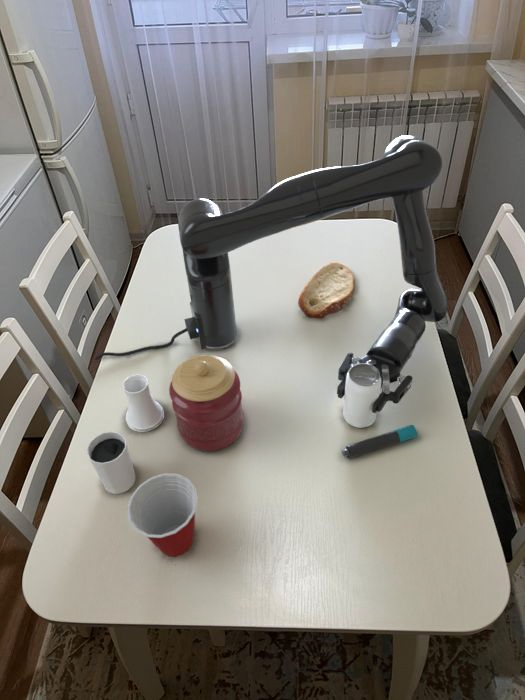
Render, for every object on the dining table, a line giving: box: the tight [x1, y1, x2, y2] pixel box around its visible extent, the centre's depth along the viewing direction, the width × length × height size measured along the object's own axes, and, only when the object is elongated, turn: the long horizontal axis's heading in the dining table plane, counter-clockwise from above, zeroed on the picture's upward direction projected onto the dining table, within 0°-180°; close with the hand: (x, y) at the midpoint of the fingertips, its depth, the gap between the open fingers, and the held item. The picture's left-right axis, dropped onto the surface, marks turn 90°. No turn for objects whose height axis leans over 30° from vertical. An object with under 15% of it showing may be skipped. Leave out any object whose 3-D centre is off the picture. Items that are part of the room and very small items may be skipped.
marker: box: [341, 424, 418, 459], centre depth 101 cm, size 15×2×2 cm
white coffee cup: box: [86, 431, 136, 495], centre depth 95 cm, size 7×7×10 cm
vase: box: [122, 373, 165, 433], centre depth 106 cm, size 8×8×10 cm
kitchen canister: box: [168, 354, 245, 453], centre depth 101 cm, size 13×13×18 cm
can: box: [342, 363, 381, 429], centre depth 103 cm, size 6×6×12 cm
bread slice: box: [297, 261, 356, 320], centre depth 135 cm, size 18×18×4 cm
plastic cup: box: [126, 472, 199, 558], centre depth 86 cm, size 11×11×12 cm
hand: (356, 402), depth 101 cm, fingers closed on can, 6 cm apart
